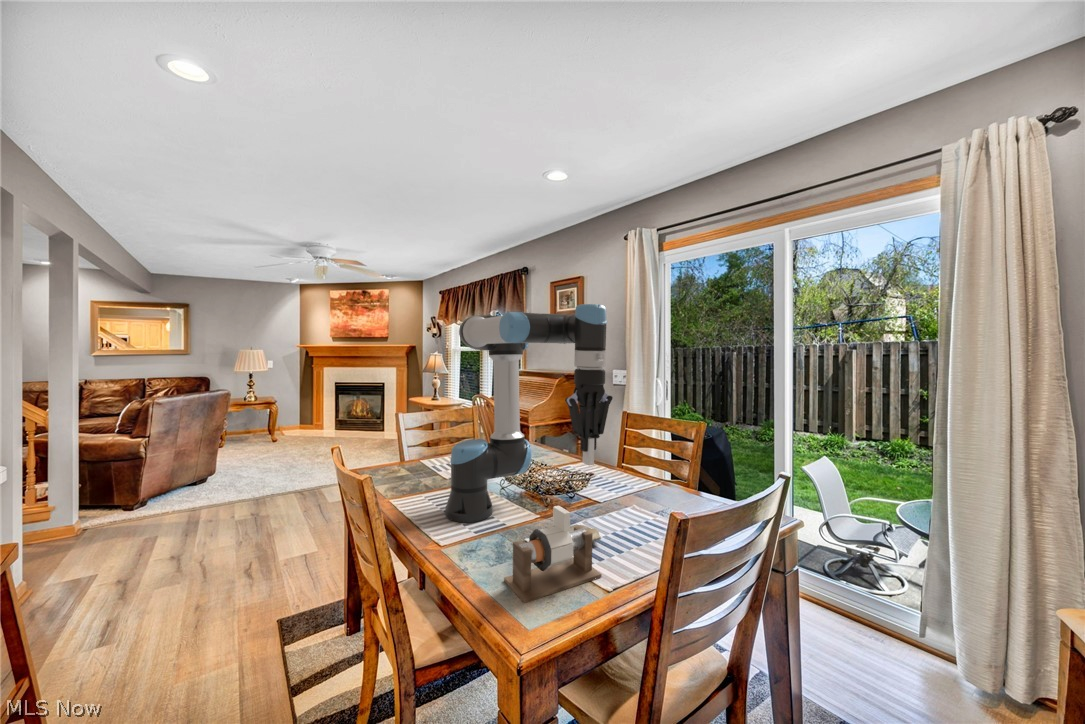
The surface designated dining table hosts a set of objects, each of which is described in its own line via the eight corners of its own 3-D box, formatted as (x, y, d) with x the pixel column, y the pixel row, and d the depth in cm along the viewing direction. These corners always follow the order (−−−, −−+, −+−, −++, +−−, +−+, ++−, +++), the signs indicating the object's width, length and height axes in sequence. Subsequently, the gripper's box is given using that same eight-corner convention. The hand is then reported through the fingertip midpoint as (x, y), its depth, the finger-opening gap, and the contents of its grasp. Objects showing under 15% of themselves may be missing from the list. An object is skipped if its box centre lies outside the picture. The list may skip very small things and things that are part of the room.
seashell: (549, 542, 124) (550, 532, 124) (575, 529, 133) (575, 519, 132) (583, 556, 116) (583, 545, 116) (608, 541, 125) (608, 531, 125)
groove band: (539, 553, 105) (540, 534, 105) (550, 562, 101) (550, 542, 101) (526, 557, 103) (526, 537, 103) (536, 566, 99) (536, 546, 99)
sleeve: (554, 552, 109) (555, 503, 109) (573, 567, 102) (573, 514, 102) (533, 558, 106) (534, 507, 105) (551, 573, 99) (551, 519, 99)
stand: (577, 559, 114) (578, 521, 114) (601, 577, 105) (602, 536, 105) (504, 580, 103) (504, 539, 103) (524, 602, 95) (524, 557, 94)
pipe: (579, 542, 111) (579, 525, 110) (589, 550, 107) (590, 532, 107) (515, 560, 101) (515, 541, 101) (524, 568, 98) (524, 549, 97)
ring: (533, 559, 106) (533, 524, 106) (551, 575, 99) (552, 538, 99) (528, 560, 106) (528, 525, 105) (546, 577, 98) (546, 539, 98)
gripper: (576, 369, 101) (575, 471, 102) (620, 368, 107) (618, 464, 108) (559, 367, 107) (557, 463, 108) (601, 366, 114) (599, 456, 115)
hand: (588, 463), depth 108 cm, fingers closed
